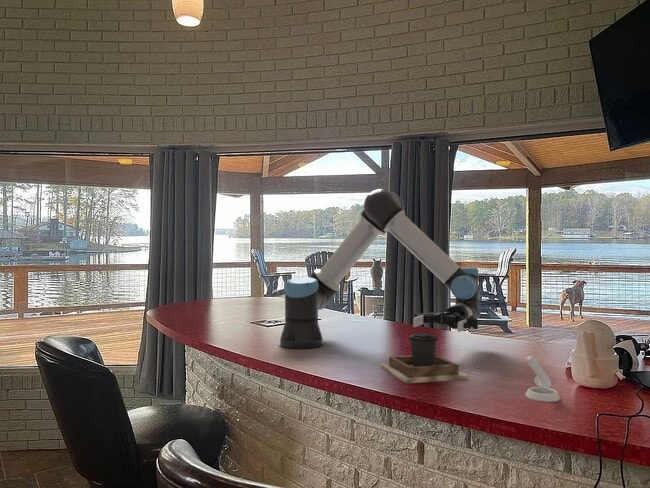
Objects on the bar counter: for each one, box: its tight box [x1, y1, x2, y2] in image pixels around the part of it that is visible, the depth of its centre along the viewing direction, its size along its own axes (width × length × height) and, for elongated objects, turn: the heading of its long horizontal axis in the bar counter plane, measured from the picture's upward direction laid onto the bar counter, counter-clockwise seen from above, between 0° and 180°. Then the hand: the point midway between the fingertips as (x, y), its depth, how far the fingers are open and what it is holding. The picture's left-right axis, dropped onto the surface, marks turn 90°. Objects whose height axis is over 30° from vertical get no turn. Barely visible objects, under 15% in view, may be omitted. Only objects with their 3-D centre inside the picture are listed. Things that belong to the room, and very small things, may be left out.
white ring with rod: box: [525, 355, 561, 403], centre depth 130 cm, size 8×12×7 cm
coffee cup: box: [408, 332, 439, 367], centre depth 153 cm, size 8×8×10 cm
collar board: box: [380, 354, 469, 384], centre depth 153 cm, size 18×18×4 cm
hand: (436, 324), depth 161 cm, fingers open, 13 cm apart
